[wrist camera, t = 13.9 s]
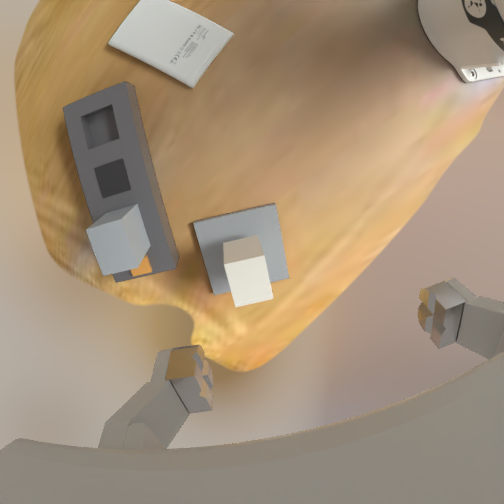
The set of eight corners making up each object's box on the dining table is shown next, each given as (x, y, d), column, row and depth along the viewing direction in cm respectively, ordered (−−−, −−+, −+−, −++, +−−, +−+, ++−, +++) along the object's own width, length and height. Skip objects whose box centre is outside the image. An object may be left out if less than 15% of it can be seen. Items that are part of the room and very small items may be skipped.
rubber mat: (274, 202, 37) (275, 204, 36) (287, 275, 41) (289, 278, 40) (193, 221, 37) (193, 223, 36) (214, 292, 41) (214, 295, 40)
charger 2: (255, 229, 37) (264, 255, 30) (263, 266, 39) (273, 298, 32) (223, 236, 37) (223, 264, 30) (232, 273, 39) (235, 307, 32)
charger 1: (137, 203, 32) (121, 218, 26) (150, 245, 34) (138, 267, 28) (106, 213, 32) (85, 229, 26) (119, 253, 34) (103, 276, 28)
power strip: (134, 85, 30) (123, 80, 26) (179, 256, 38) (175, 271, 35) (76, 108, 30) (60, 107, 26) (123, 269, 38) (114, 284, 35)
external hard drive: (150, -5, 26) (233, 36, 29) (111, 46, 28) (193, 89, 31) (147, -9, 24) (234, 32, 28) (107, 43, 26) (191, 87, 30)
